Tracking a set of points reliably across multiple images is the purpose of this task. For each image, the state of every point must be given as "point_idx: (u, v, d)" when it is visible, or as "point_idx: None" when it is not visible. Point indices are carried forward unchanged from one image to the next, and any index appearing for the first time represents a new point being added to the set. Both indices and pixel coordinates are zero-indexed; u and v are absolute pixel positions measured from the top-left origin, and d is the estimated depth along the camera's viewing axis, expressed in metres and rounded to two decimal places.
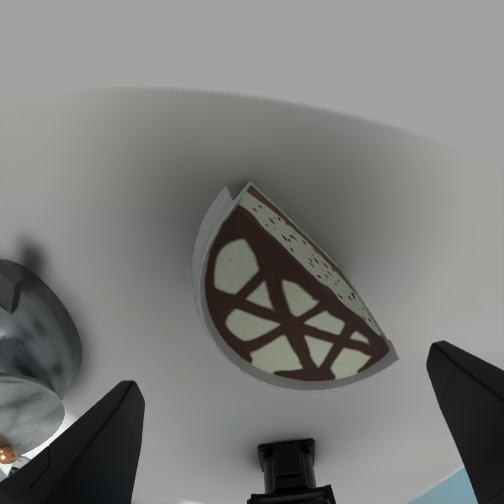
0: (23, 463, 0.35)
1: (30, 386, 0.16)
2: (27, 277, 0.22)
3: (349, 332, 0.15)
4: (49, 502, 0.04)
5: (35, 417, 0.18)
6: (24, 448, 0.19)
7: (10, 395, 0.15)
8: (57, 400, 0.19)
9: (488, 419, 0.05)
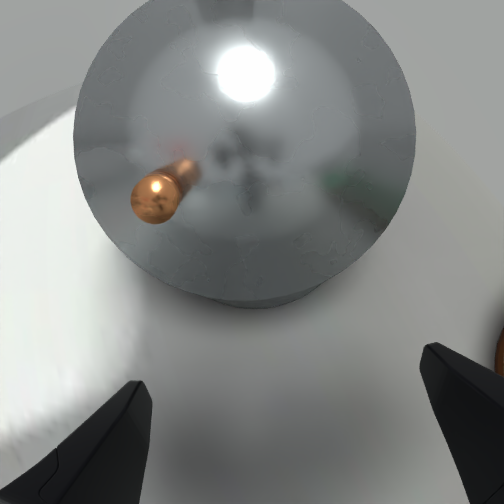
0: None
1: (395, 212, 0.14)
2: None
3: None
4: None
5: (295, 240, 0.15)
6: (147, 243, 0.15)
7: (385, 181, 0.14)
8: (342, 267, 0.16)
9: (480, 423, 0.05)
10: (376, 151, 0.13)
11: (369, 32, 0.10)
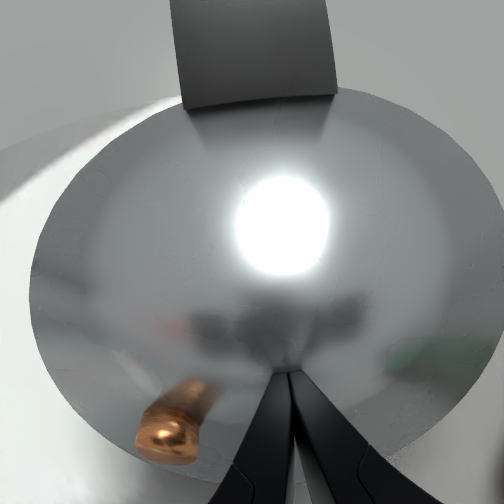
0: None
1: None
2: None
3: None
4: None
5: None
6: None
7: (449, 392, 0.09)
8: None
9: (313, 472, 0.05)
10: (451, 369, 0.09)
11: (494, 217, 0.06)
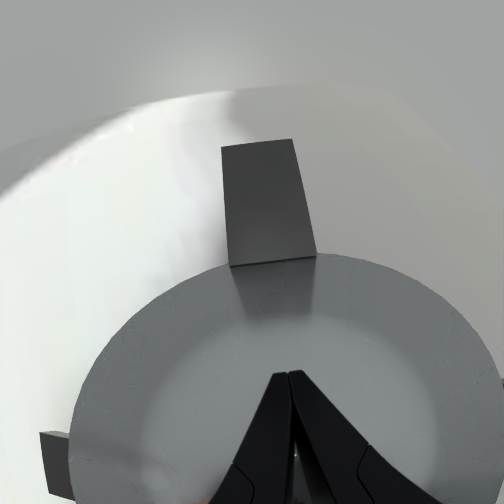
0: None
1: None
2: None
3: None
4: None
5: None
6: None
7: (475, 499, 0.06)
8: None
9: (313, 473, 0.05)
10: (466, 470, 0.07)
11: (454, 320, 0.09)
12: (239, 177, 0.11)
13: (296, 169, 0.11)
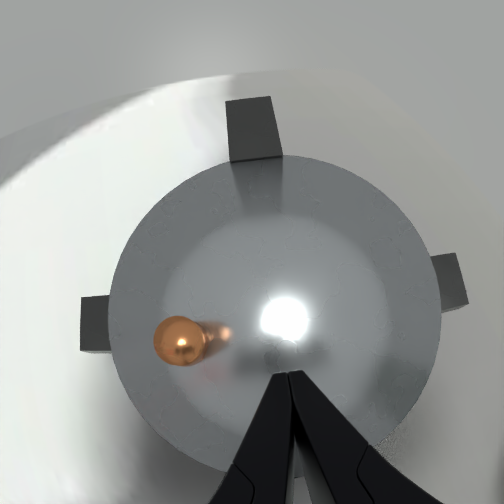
0: None
1: (434, 361, 0.12)
2: None
3: None
4: None
5: None
6: (161, 398, 0.12)
7: (417, 329, 0.12)
8: (385, 433, 0.11)
9: (313, 472, 0.05)
10: (402, 300, 0.13)
11: (376, 195, 0.15)
12: (236, 117, 0.18)
13: (272, 112, 0.18)
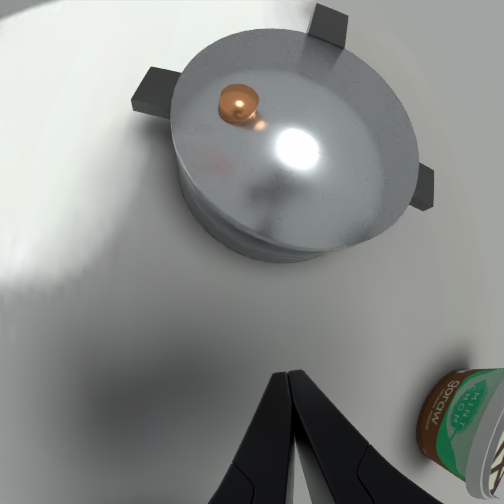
0: None
1: (402, 213, 0.17)
2: None
3: None
4: None
5: (324, 194, 0.16)
6: (200, 138, 0.15)
7: (397, 185, 0.17)
8: (357, 241, 0.16)
9: (313, 472, 0.05)
10: (392, 161, 0.18)
11: (395, 100, 0.19)
12: (321, 14, 0.19)
13: (346, 24, 0.19)
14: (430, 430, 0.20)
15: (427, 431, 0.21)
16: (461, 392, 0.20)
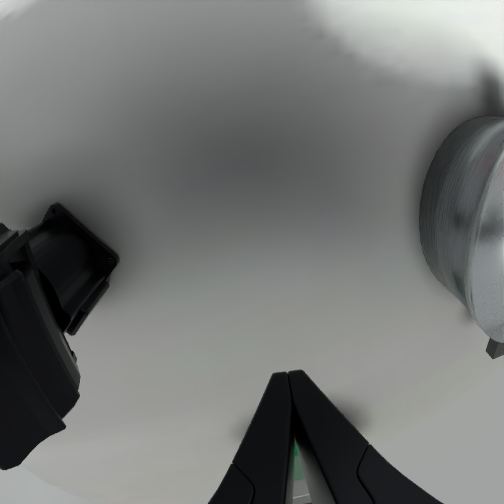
0: None
1: (495, 340, 0.16)
2: None
3: None
4: None
5: None
6: None
7: None
8: (478, 315, 0.15)
9: (313, 473, 0.05)
10: None
11: None
12: None
13: None
14: None
15: None
16: None
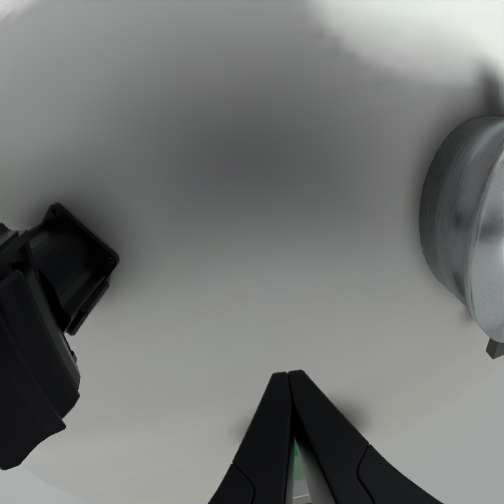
0: None
1: (495, 340, 0.16)
2: None
3: None
4: None
5: None
6: None
7: None
8: (478, 315, 0.15)
9: (314, 472, 0.05)
10: None
11: None
12: None
13: None
14: None
15: None
16: None
